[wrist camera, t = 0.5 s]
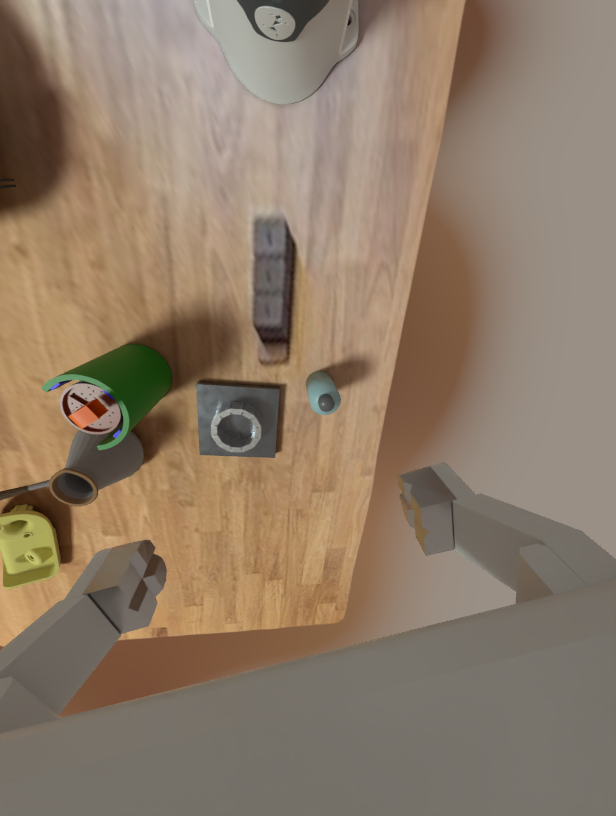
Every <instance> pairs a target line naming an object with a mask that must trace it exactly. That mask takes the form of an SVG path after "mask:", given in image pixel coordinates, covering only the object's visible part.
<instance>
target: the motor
mask: <svg viewBox="0 0 616 816" xmlns="http://www.w3.org/2000/svg"><path fill="white" fill-rule="evenodd" d="M72 380H81V381H79V382H77V383H76V384H73V385H71V386H70V387H68V388H66V389H65V390H64V391H63V393H62V394H61V397H60V402H59V404H60V409H61V412H62V414H63V416H64V417H65V419H66V420H67V421H68V422H69V423H70V424H71V425H72V426H74V427H75V428H77V429H79V430H81V431H83V432H86V433H89V434H105V433H108V432H110V431H112V430H113V429H114V430H113V431H112V432H111V433H110V434H109V435H108V436H107V437H106V438H105V439H103V440H102V441H101V442H100V443H99V444H98V445H97V448H98V450H104V449H108V448H111V447H113V446H115V445H117V444H118V443H119V442H121V441H122V440H123V439H124V438H125V437H126V435H127V434H128V433H129V432H130V431H131V430H132V429H133V428H134V427H135V426H136V425H137V424H138V423H139V422H140V421H141V420H142V419H143V418H144V417H145V416H146V414H147V413H148V412H149V411H150V410H151V409H152V408H153V407H154V406H155V405H156V404H157V403H158V402H159V401H160V400H161V399H162V398H163V397H164V396H165V395H166V393H167V392H168V391H169V389H170V387H171V383H172V375H171V370H170V368H169V365H168V364H167V362H166V361H165V359H164V358H163V357H162V356H161V355H160V354H159V353H157V352H156V351H155V350H153V349H151V348H149V347H147V346H143V345H139V344H128V345H124V346H121V347H119V348H117V349H115V350H113V351H111V352H108V353H106V354H104V355H102V356H100V357H98V358H96V359H93V360H91V361H89V362H87V363H85V364H83V365H80V366H78V367H76V368H74V369H72V370H70V371H68V372H65V373H63V374H61V375H59V376H57V377H55V378H53V379H51V380H49V381H48V382H46V383H45V384H44V385H43V386H42V389H43V390H44V391H46V392H48V391H50V390H54V389H56V388H58V387H60V386H62V385H64V384H66V383H68V382H70V381H72ZM122 421H123V422H122ZM121 422H122V423H121ZM120 423H121V424H120ZM119 424H120V425H119Z"/></svg>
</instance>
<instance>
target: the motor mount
mask: <svg viewBox="0 0 616 816" xmlns="http://www.w3.org/2000/svg"><path fill="white" fill-rule="evenodd" d="M196 386H197V407H198V427H199V448H200V455H215V456H242V457H270V458H275V452H276V438H277V423H278V409H279V394H280V387H278V386H262V385H247V384H232V383H217V382H202V381H198V383H197V384H196Z"/></svg>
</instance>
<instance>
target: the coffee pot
mask: <svg viewBox="0 0 616 816" xmlns="http://www.w3.org/2000/svg"><path fill="white" fill-rule="evenodd" d="M113 430H114V429H113ZM113 430H112V431H113ZM112 431H110V432H108V433H105V434H89V433H86V432H83V431H81V430H80V431H79V432H78V433H77V434H76V435H75V437H74V439H73V441H72V445H71V448H70V452H69V456H68V459H67V463H66V467H65V468H64V469H62V470H60V471H58V472H57V473H55V474H54V475H53V476H52V477H51V479H50V480H47V481H44V482H40V483H37V484H33V485H30V486H24V487H19V488H14V489H10V490H5V491H1V492H0V500H3V499H6V498H9V497H12V496H16V495H19V494H22V493H25V492H28V491H30V490H34V489H38V488H42V487H47V486H49V489H50V492H51V493H52V495H53V496H54V497H55V498H56V499H57V500H59V501H61V502H62V503H65V504H67V505H71V506H84V505H88V504H90V503H92V502H93V501H94V500H95V499H96V497H97V495H98V490H99V489H102V488H104V487H106V486H109V485H111V484H113V483H115V482H118V481H120V480H122V479H125V478H127V477H129V476H131V475H133V474H134V473H135V472H136V471H138V470H139V468H140V467H141V465H142V463H143V458H144V452H143V446H142V444H141V442H140V440H139V439H138V437H137V436H136V435H135V434H134V433H133V432H131V431H130V432H129V433H128V434H127V435H126V437H125V438H124V439H123V440H122V441H121V442H119V443H118V444H117V445H115V446H113V447H111V448H108V449H104V450H98V448H97V445H98V444H99V443H100V442H101V441H102V440H103V439H105V438H106V437H107V436H108V435H109V434H110V433H111V432H112Z"/></svg>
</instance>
